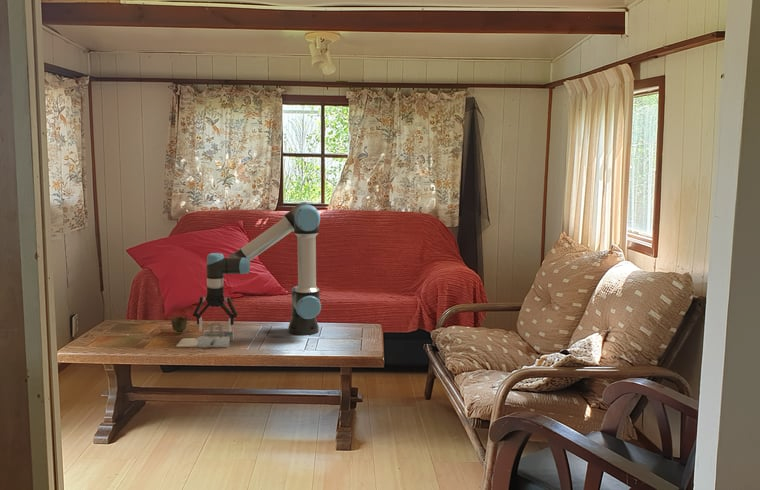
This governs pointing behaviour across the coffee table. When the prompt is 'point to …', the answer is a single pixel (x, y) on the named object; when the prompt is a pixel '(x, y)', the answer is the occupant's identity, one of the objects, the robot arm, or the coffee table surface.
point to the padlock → (217, 334)
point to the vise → (215, 339)
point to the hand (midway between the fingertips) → (215, 331)
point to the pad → (188, 342)
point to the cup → (179, 324)
